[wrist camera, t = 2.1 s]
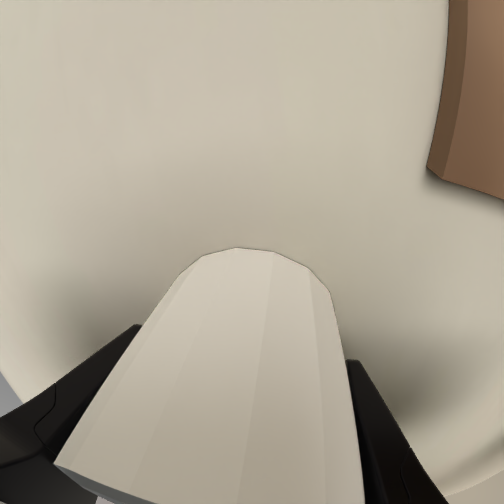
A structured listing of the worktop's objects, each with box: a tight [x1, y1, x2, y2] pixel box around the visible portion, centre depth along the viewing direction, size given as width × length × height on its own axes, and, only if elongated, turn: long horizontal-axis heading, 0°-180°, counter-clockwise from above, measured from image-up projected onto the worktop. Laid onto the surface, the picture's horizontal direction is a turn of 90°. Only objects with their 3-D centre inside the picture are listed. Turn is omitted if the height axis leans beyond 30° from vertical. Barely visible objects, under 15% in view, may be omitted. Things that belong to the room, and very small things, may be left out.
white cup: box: [53, 248, 365, 504], centre depth 7 cm, size 7×7×7 cm
